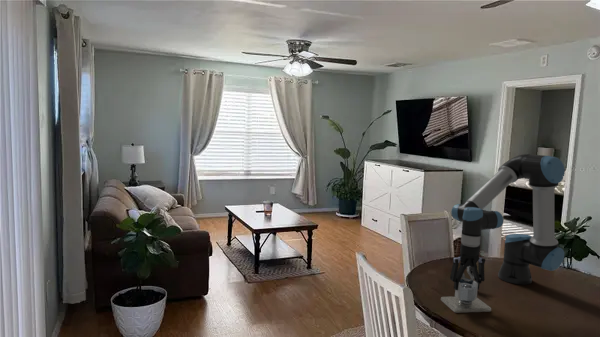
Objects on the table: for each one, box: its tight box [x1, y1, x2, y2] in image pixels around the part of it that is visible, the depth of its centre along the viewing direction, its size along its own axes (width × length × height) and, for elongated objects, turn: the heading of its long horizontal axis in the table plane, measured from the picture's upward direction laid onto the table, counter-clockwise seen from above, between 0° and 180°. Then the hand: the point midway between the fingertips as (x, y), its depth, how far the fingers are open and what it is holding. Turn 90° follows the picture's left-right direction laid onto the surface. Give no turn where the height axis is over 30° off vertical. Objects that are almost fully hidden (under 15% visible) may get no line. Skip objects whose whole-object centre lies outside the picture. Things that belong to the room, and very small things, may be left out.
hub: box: [459, 283, 476, 301], centre depth 176 cm, size 7×7×5 cm
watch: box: [460, 265, 475, 285], centre depth 197 cm, size 6×8×11 cm
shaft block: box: [440, 284, 492, 314], centre depth 176 cm, size 16×12×9 cm
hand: (465, 296), depth 176 cm, fingers closed on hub, 7 cm apart
